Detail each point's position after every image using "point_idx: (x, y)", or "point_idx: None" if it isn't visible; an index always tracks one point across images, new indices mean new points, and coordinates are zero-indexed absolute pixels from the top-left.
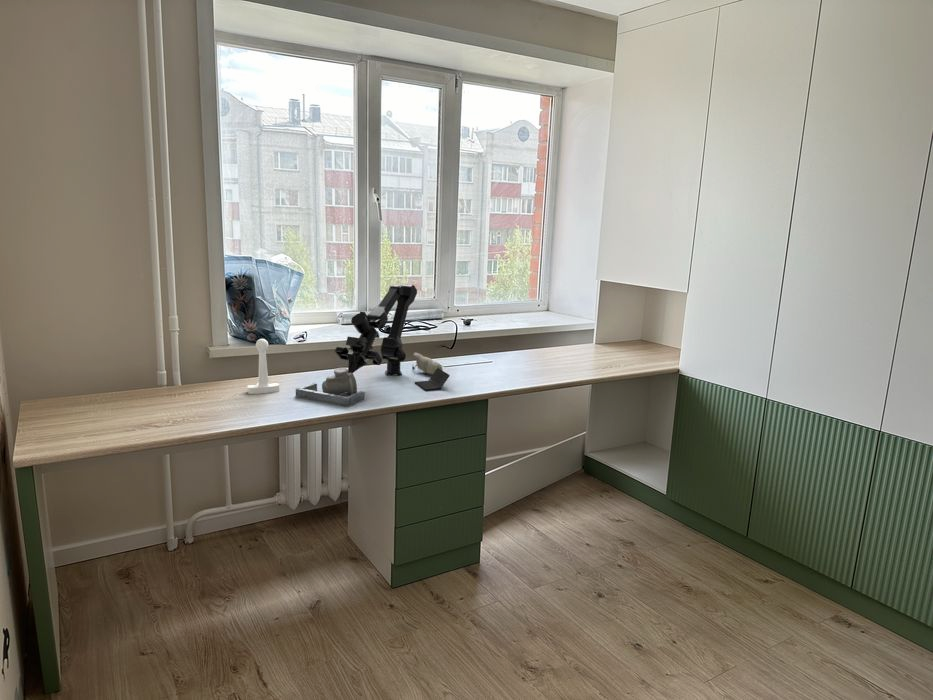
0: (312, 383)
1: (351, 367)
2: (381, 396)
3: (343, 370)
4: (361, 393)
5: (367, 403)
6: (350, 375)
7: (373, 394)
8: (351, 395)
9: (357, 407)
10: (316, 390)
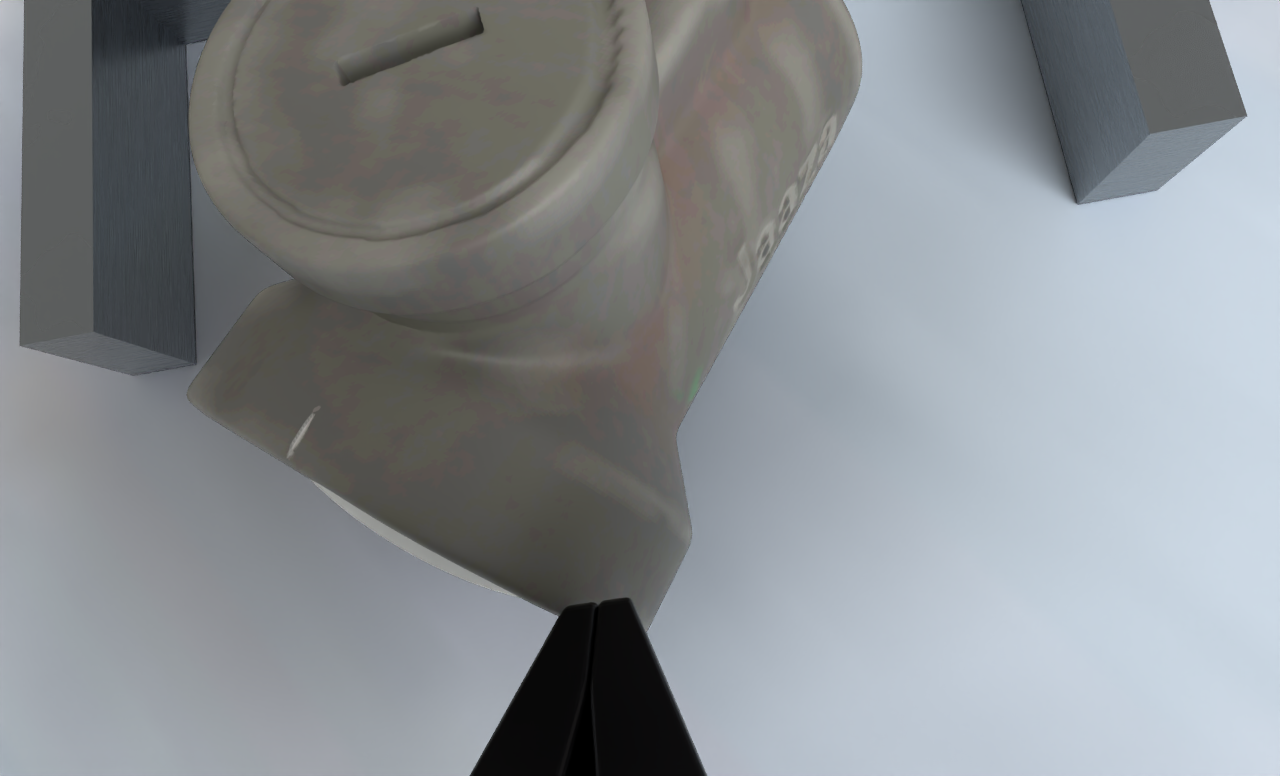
0: (1204, 61)
1: (538, 769)
2: (29, 698)
3: (290, 74)
4: (24, 251)
5: (11, 281)
6: (272, 337)
7: (195, 704)
8: (78, 53)
9: None
10: (1080, 184)
